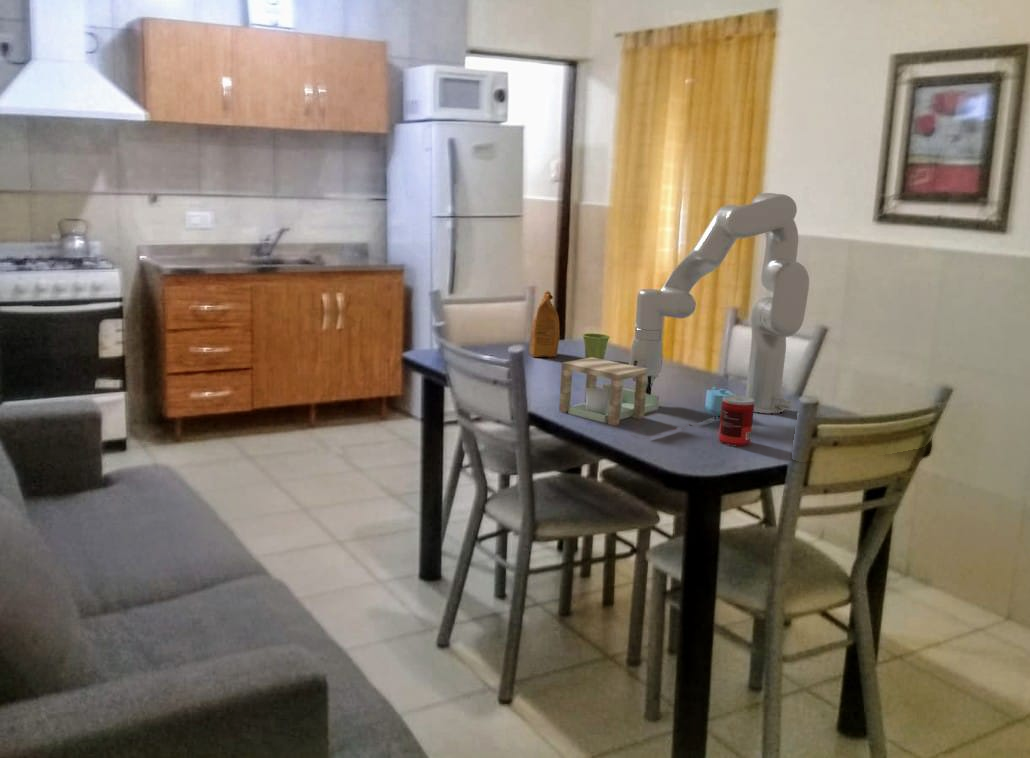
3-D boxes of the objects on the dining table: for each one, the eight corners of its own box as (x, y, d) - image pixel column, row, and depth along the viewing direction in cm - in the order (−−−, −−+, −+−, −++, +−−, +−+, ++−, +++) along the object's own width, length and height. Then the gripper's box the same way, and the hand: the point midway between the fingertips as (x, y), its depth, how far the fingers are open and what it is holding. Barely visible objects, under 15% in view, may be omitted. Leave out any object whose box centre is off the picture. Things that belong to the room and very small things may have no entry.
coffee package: (557, 352, 346) (561, 290, 341) (558, 359, 334) (562, 295, 329) (529, 351, 346) (533, 289, 341) (529, 357, 334) (532, 293, 329)
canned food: (745, 438, 244) (749, 395, 241) (753, 447, 236) (758, 403, 234) (714, 437, 243) (719, 394, 241) (722, 446, 236) (726, 401, 233)
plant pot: (576, 357, 338) (578, 333, 337) (602, 357, 341) (603, 333, 339) (586, 363, 330) (588, 337, 328) (612, 363, 332) (614, 337, 331)
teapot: (700, 409, 272) (702, 383, 270) (720, 409, 273) (723, 383, 271) (716, 420, 260) (718, 393, 259) (737, 421, 262) (740, 393, 260)
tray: (658, 412, 266) (659, 396, 265) (605, 425, 248) (606, 409, 247) (621, 403, 273) (622, 388, 273) (567, 416, 256) (569, 399, 255)
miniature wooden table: (643, 421, 256) (647, 368, 253) (614, 429, 246) (618, 374, 243) (588, 407, 267) (592, 357, 264) (558, 414, 257) (562, 362, 255)
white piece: (625, 412, 259) (627, 387, 258) (612, 415, 256) (614, 389, 254) (609, 408, 263) (611, 383, 262) (596, 411, 259) (598, 385, 258)
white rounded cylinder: (610, 416, 255) (612, 390, 253) (597, 419, 251) (599, 392, 249) (593, 412, 258) (595, 386, 257) (581, 415, 254) (582, 389, 253)
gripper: (652, 330, 275) (648, 394, 279) (621, 335, 264) (617, 401, 268) (675, 334, 270) (670, 398, 274) (644, 339, 259) (639, 406, 263)
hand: (644, 400), depth 271 cm, fingers closed
